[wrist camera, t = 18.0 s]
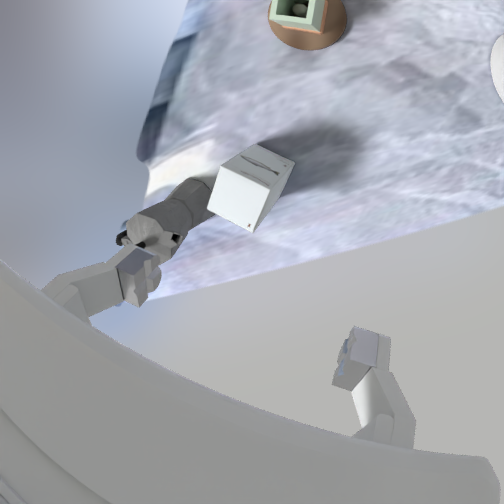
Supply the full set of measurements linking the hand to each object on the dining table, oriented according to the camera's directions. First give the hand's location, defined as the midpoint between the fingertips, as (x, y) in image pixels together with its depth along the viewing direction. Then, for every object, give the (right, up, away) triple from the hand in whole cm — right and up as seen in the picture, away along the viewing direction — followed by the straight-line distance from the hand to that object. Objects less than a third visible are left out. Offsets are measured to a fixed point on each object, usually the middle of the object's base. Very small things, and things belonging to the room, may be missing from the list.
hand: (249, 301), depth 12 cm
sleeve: (+8, +34, +20) cm, 40 cm away
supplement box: (+3, +15, +37) cm, 40 cm away
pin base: (+8, +35, +21) cm, 41 cm away
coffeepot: (-12, +12, +46) cm, 49 cm away
